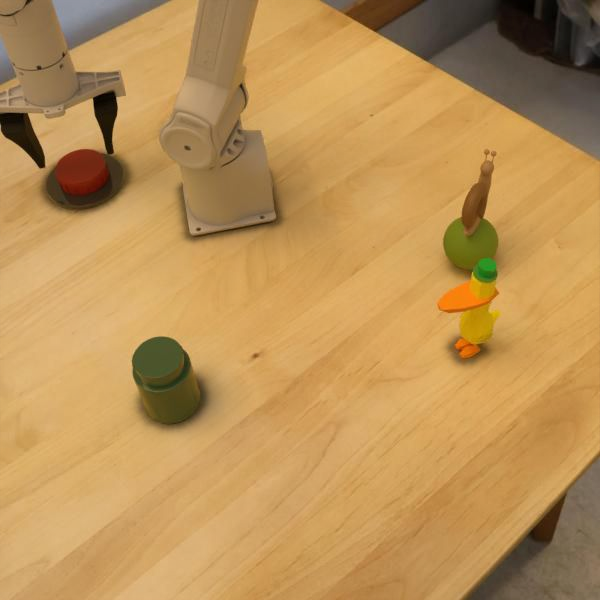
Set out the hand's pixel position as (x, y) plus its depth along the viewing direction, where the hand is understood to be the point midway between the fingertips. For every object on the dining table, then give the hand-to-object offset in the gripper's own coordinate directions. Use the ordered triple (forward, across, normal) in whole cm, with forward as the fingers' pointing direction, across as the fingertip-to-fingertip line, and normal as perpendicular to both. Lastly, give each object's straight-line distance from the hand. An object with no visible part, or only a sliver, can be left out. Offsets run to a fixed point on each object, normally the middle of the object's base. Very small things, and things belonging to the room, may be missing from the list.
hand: (76, 155), depth 96 cm
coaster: (+4, 0, 0) cm, 4 cm away
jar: (+4, +6, -32) cm, 33 cm away
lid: (+2, 0, 0) cm, 2 cm away
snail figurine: (+4, +38, -23) cm, 45 cm away
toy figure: (+4, +34, -34) cm, 48 cm away
